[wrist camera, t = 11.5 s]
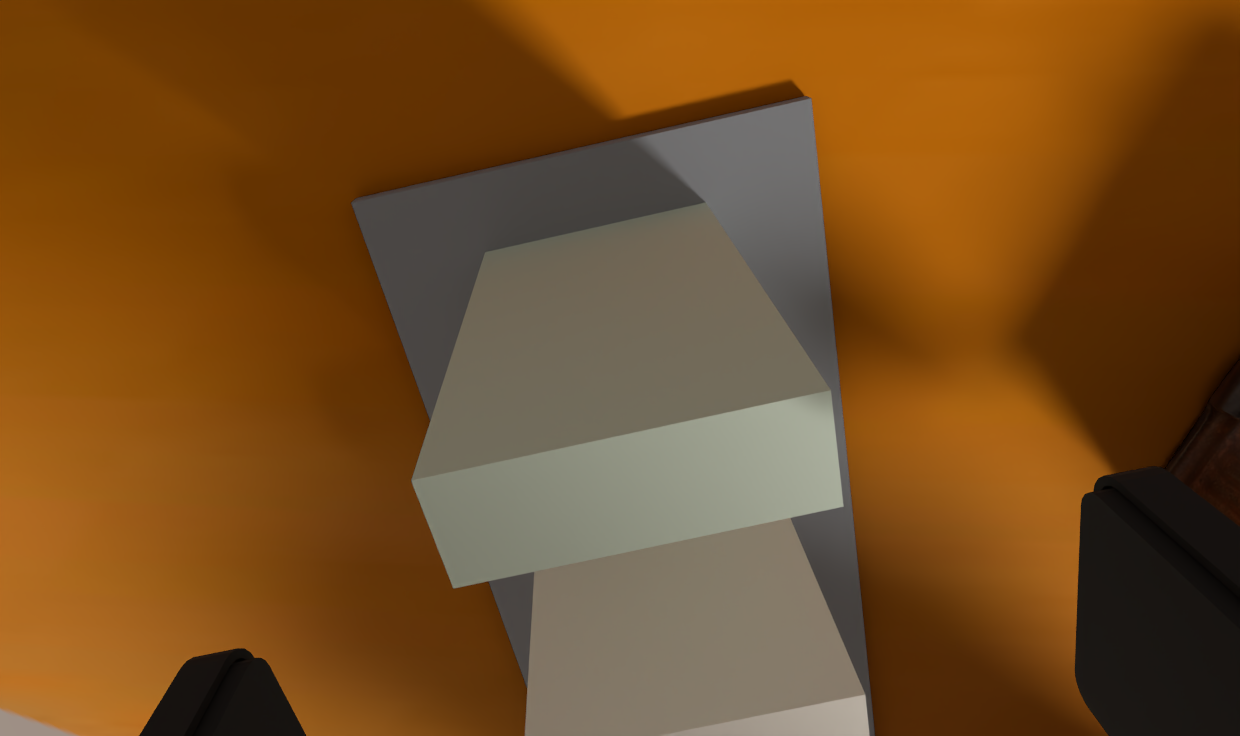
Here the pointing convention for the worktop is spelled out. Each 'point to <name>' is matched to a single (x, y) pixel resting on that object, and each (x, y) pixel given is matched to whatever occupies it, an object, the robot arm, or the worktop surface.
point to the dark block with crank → (1215, 450)
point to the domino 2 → (691, 643)
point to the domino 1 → (620, 403)
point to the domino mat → (613, 192)
